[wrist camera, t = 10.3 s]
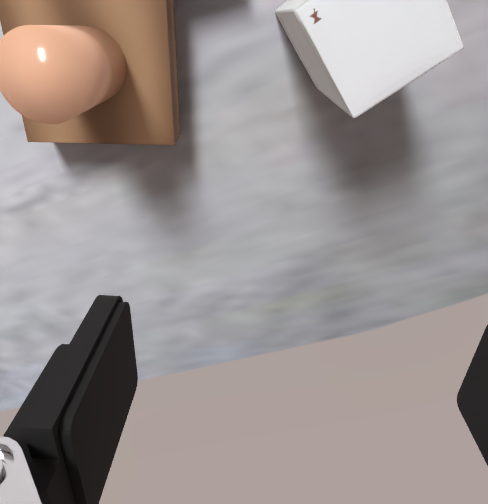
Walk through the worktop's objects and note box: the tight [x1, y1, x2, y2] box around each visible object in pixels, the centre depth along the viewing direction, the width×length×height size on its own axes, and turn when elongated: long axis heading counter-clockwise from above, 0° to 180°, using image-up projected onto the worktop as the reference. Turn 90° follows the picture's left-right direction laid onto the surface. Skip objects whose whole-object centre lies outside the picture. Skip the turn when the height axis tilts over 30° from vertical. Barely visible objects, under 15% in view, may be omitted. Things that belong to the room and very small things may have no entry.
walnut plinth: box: [0, 0, 180, 145], centre depth 33 cm, size 12×12×4 cm
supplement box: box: [275, 0, 464, 118], centre depth 29 cm, size 7×7×13 cm
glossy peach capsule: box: [0, 25, 126, 124], centre depth 28 cm, size 5×5×9 cm
